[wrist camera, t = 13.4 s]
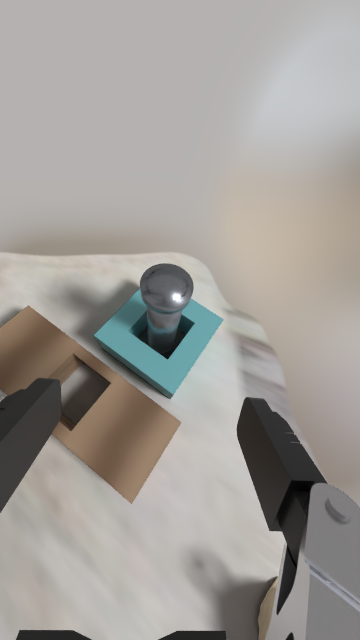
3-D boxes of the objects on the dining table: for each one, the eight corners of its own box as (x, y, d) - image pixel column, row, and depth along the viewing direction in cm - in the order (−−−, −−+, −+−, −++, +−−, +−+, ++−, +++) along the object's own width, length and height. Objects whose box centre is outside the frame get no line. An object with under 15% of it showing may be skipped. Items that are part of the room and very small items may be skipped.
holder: (101, 347, 25) (93, 335, 22) (153, 292, 30) (153, 274, 26) (170, 399, 24) (173, 394, 20) (214, 333, 28) (223, 319, 25)
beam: (-12, 365, 23) (-37, 356, 20) (43, 319, 26) (28, 305, 23) (134, 491, 20) (131, 504, 17) (177, 422, 23) (181, 422, 20)
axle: (138, 344, 26) (128, 287, 16) (157, 320, 28) (161, 255, 17) (164, 363, 26) (173, 317, 15) (183, 337, 27) (203, 281, 17)
